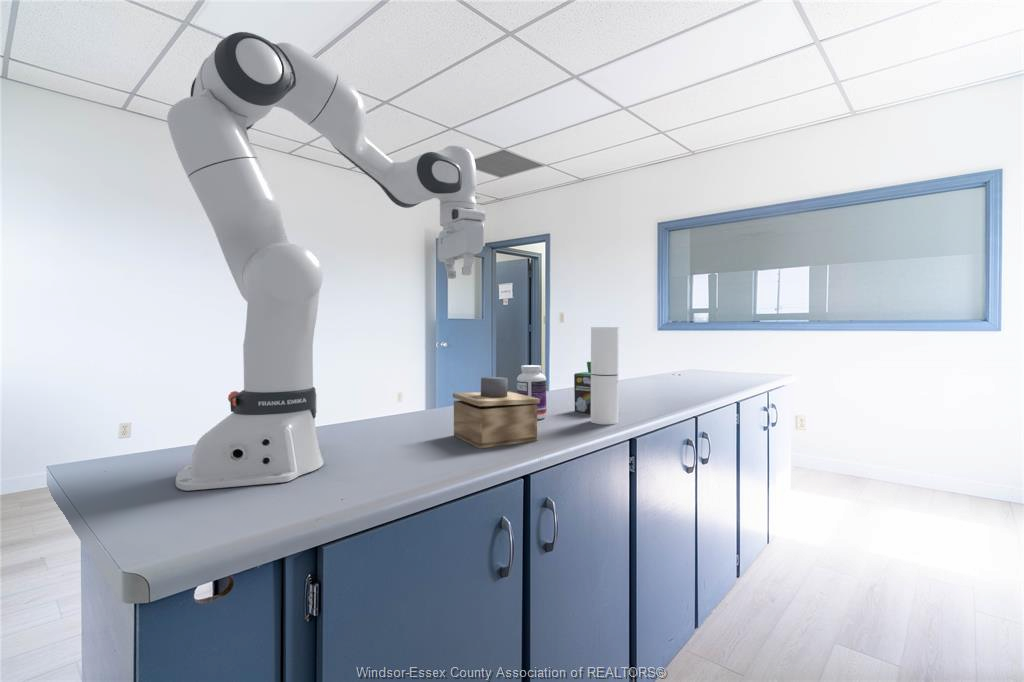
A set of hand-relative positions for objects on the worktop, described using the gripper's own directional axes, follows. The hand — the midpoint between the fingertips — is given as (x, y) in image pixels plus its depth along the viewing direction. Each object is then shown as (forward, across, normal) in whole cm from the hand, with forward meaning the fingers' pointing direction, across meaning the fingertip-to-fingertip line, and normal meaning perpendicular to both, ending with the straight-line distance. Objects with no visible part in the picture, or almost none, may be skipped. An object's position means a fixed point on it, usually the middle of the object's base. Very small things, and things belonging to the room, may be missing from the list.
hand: (458, 276), depth 118 cm
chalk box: (+37, -6, +46) cm, 60 cm away
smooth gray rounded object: (+28, +11, +4) cm, 30 cm away
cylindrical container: (+37, +8, +38) cm, 54 cm away
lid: (+29, +11, +4) cm, 31 cm away
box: (+37, +11, +4) cm, 39 cm away
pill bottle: (+37, -6, +24) cm, 45 cm away
